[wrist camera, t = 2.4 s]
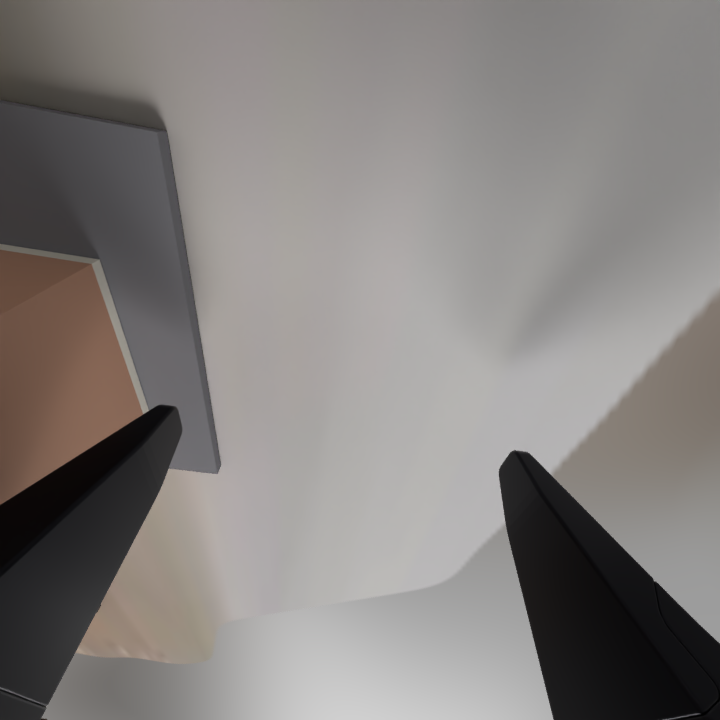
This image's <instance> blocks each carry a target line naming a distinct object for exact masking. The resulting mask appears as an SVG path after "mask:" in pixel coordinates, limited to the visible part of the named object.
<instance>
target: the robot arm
mask: <svg viewBox="0 0 720 720" xmlns="http://www.w3.org/2000/svg"><path fill="white" fill-rule="evenodd" d="M181 435H182V423H181V419H180V415H179V411H178V408H177V407H176V406H171V405H163V404H161V405H157V406H155V407H154V408H152V409H151V410H149V411H148V412H146V413H144V414H143V415H141V416H140V417H138V418H136V419H135V420H133V421H132V422H130V423H129V424H127V425H125V426H124V427H122V428H121V429H119V430H117V431H116V432H114V433H113V434H111V435H110V436H108V437H106V438H105V439H103V440H102V441H100V442H99V443H97V444H95V445H94V446H92V447H91V448H89V449H87V450H86V451H84V452H83V453H81V454H80V455H78V456H76V457H75V458H73V459H72V460H70V461H69V462H67V463H65V464H64V465H62V466H61V467H59V468H57V469H56V470H54V471H53V472H51V473H50V474H48V475H46V476H45V477H43V478H42V479H40V480H39V481H37V482H35V483H34V484H32V485H31V486H29V487H27V488H26V489H24V490H23V491H21V492H20V493H18V494H16V495H15V496H13V497H12V498H10V499H9V500H7V501H5V502H4V503H2V504H1V505H0V720H47V719H42V716H43V714H44V712H45V710H46V706H47V705H48V704H49V702H50V700H51V698H52V696H53V694H54V692H55V690H56V688H57V686H58V684H59V682H60V681H61V679H62V677H63V675H64V673H65V671H66V669H67V667H68V665H69V663H70V661H71V660H72V658H73V656H74V654H75V652H76V650H77V648H78V646H79V644H80V642H81V641H82V639H83V637H84V635H85V633H86V631H87V629H88V627H89V625H90V623H91V621H92V620H93V618H94V616H95V614H96V613H97V612H98V610H99V608H100V606H101V605H100V604H101V602H102V600H103V599H104V597H105V595H106V593H107V591H108V589H109V587H110V585H111V583H112V581H113V579H114V578H115V576H116V574H117V572H118V570H119V568H120V566H121V564H122V562H123V560H124V558H125V556H126V555H127V553H128V551H129V549H130V547H131V545H132V543H133V541H134V539H135V537H136V535H137V534H138V532H139V530H140V528H141V526H142V524H143V522H144V520H145V518H146V516H147V514H148V513H149V511H150V509H151V507H152V505H153V503H154V501H155V499H156V497H157V495H158V493H159V491H160V489H161V486H162V484H163V482H164V479H165V476H166V474H167V471H168V469H169V466H170V464H171V461H172V458H173V456H174V453H175V451H176V448H177V446H178V443H179V441H180V438H181ZM499 480H500V487H501V494H502V501H503V508H504V515H505V522H506V528H507V532H508V537H509V541H510V545H511V550H512V554H513V557H514V561H515V566H516V570H517V574H518V578H519V582H520V586H521V589H522V593H523V598H524V602H525V606H526V610H527V614H528V618H529V622H530V626H531V630H532V634H533V638H534V642H535V646H536V650H537V654H538V659H539V662H540V666H541V671H542V675H543V679H544V683H545V687H546V691H547V695H548V699H549V703H550V707H551V711H552V715H553V719H554V720H720V643H718V642H717V641H716V640H715V639H714V638H713V637H712V636H711V635H710V634H709V633H708V632H707V631H706V630H705V629H703V627H701V626H700V625H699V624H698V623H697V622H696V621H695V620H694V619H693V618H692V617H691V616H690V615H689V614H688V613H687V612H686V611H685V610H684V609H683V608H682V607H681V606H680V605H679V604H678V603H677V602H676V601H675V600H674V599H673V598H672V597H671V596H670V595H669V594H668V593H667V592H666V591H665V590H664V589H663V588H662V587H661V586H660V585H659V584H658V583H657V582H654V580H653V578H652V577H651V576H650V575H649V574H648V573H647V572H646V571H645V570H644V569H643V568H642V567H641V566H640V565H639V564H638V563H637V562H636V561H635V560H634V559H633V558H632V557H631V556H630V555H629V554H628V553H627V552H626V551H625V550H624V549H623V548H622V547H621V546H620V545H619V544H618V542H616V541H615V540H614V538H612V537H611V536H610V534H609V533H607V531H606V530H605V529H604V528H603V527H602V526H601V525H600V524H599V523H598V522H597V521H596V520H595V519H594V518H593V517H592V516H591V515H590V514H589V513H588V512H587V511H586V510H585V509H584V508H583V507H582V506H581V505H580V504H579V503H578V502H577V501H576V500H575V499H574V498H573V497H572V496H571V495H570V494H569V493H568V492H567V491H566V490H565V489H564V488H563V487H562V486H561V485H560V484H559V483H558V482H557V481H556V480H555V479H554V478H553V477H552V476H551V475H550V474H549V473H548V472H547V471H546V470H545V469H544V468H543V467H542V465H541V464H540V463H539V462H538V461H537V460H536V459H535V458H534V457H533V456H532V455H531V454H529V453H528V452H524V451H516V450H514V451H512V452H510V454H509V455H508V457H507V458H506V459H505V461H504V462H503V464H502V465H501V467H500V469H499Z"/></svg>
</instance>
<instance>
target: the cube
mask: <svg viewBox="0 0 720 720" xmlns="http://www.w3.org/2000/svg"><path fill="white" fill-rule="evenodd" d="M148 411H149V409H148V406H147V403H146V400H145V397H144V394H143V391H142V388H141V385H140V382H139V379H138V376H137V373H136V369H135V366H134V363H133V360H132V357H131V354H130V351H129V348H128V345H127V342H126V339H125V336H124V333H123V330H122V327H121V323H120V320H119V317H118V314H117V311H116V308H115V305H114V302H113V299H112V296H111V293H110V290H109V287H108V284H107V281H106V278H105V274H104V271H103V268H102V265H101V262H100V259H93V258H87V257H81V256H74V255H68V254H62V253H55V252H49V251H43V250H36V249H30V248H24V247H17V246H11V245H5V244H0V505H1V504H2V503H4V502H5V501H7V500H9V499H10V498H12V497H13V496H15V495H16V494H18V493H20V492H21V491H23V490H24V489H26V488H27V487H29V486H31V485H32V484H34V483H35V482H37V481H39V480H40V479H42V478H43V477H45V476H46V475H48V474H50V473H51V472H53V471H54V470H56V469H57V468H59V467H61V466H62V465H64V464H65V463H67V462H69V461H70V460H72V459H73V458H75V457H76V456H78V455H80V454H81V453H83V452H84V451H86V450H87V449H89V448H91V447H92V446H94V445H95V444H97V443H99V442H100V441H102V440H103V439H105V438H106V437H108V436H110V435H111V434H113V433H114V432H116V431H117V430H119V429H121V428H122V427H124V426H125V425H127V424H129V423H130V422H132V421H133V420H135V419H136V418H138V417H140V416H141V415H143V414H144V413H146V412H148Z"/></svg>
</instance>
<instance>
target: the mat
mask: <svg viewBox="0 0 720 720" xmlns="http://www.w3.org/2000/svg"><path fill="white" fill-rule="evenodd" d="M0 244H5V245H11V246H17V247H24V248H30V249H36V250H43V251H49V252H55V253H62V254H68V255H74V256H81V257H87V258H93V259H100V262H101V265H102V268H103V271H104V274H105V278H106V281H107V284H108V287H109V290H110V293H111V296H112V299H113V302H114V305H115V308H116V311H117V314H118V317H119V320H120V323H121V327H122V330H123V333H124V336H125V339H126V342H127V345H128V348H129V351H130V354H131V357H132V360H133V363H134V366H135V369H136V373H137V376H138V379H139V382H140V385H141V388H142V391H143V394H144V397H145V400H146V403H147V406H148V409H149V410H151V409H152V408H154V407H155V406H157V405H161V404H163V405H171V406H176V407H177V408H178V411H179V415H180V419H181V423H182V435H181V438H180V441H179V443H178V446H177V448H176V451H175V453H174V456H173V458H172V461H171V464H170V466H169V468H170V469H179V470H187V471H196V472H204V473H213V474H218V471H219V469H220V467H221V464H220V458H219V452H218V446H217V439H216V433H215V427H214V421H213V415H212V408H211V402H210V396H209V390H208V384H207V377H206V371H205V365H204V359H203V353H202V346H201V340H200V334H199V328H198V322H197V315H196V309H195V303H194V297H193V291H192V284H191V278H190V272H189V266H188V260H187V253H186V247H185V241H184V235H183V229H182V222H181V216H180V210H179V204H178V198H177V191H176V185H175V179H174V173H173V167H172V160H171V154H170V148H169V142H168V136H167V131H164V130H159V129H154V128H148V127H143V126H137V125H132V124H127V123H121V122H116V121H111V120H105V119H100V118H95V117H89V116H84V115H78V114H73V113H68V112H62V111H57V110H52V109H46V108H41V107H36V106H30V105H25V104H20V103H14V102H9V101H3V100H0Z"/></svg>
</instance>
